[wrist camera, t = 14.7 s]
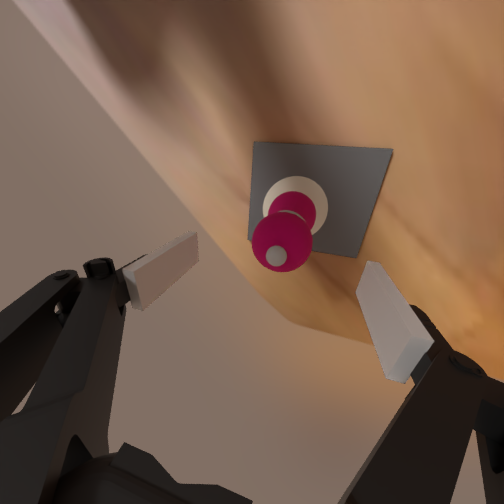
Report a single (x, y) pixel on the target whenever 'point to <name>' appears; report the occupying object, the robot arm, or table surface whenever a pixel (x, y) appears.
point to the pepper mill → (285, 232)
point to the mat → (321, 188)
